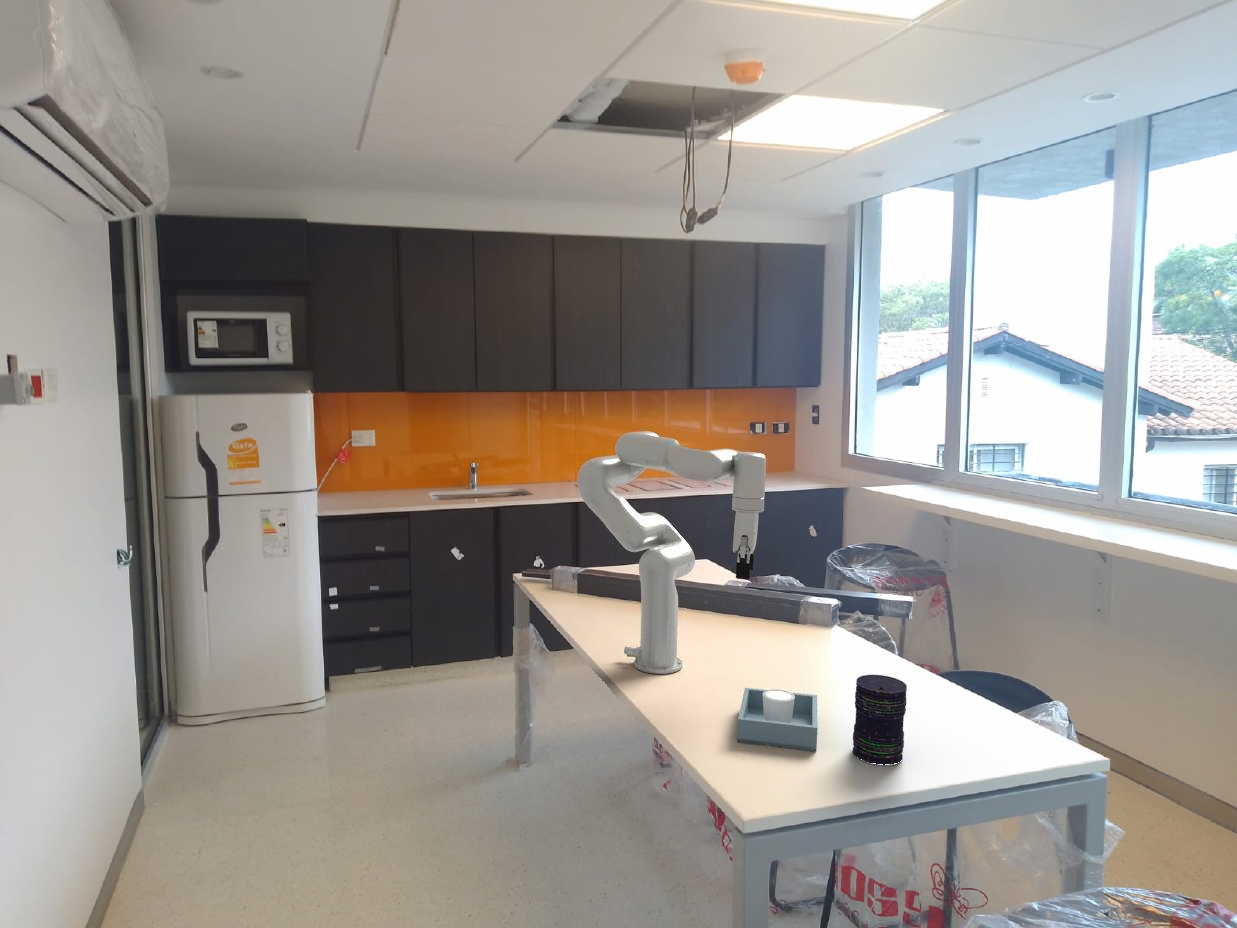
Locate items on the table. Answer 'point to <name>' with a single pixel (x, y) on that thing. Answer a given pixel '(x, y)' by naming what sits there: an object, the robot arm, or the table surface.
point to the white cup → (778, 705)
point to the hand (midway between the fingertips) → (744, 574)
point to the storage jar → (879, 719)
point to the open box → (778, 723)
